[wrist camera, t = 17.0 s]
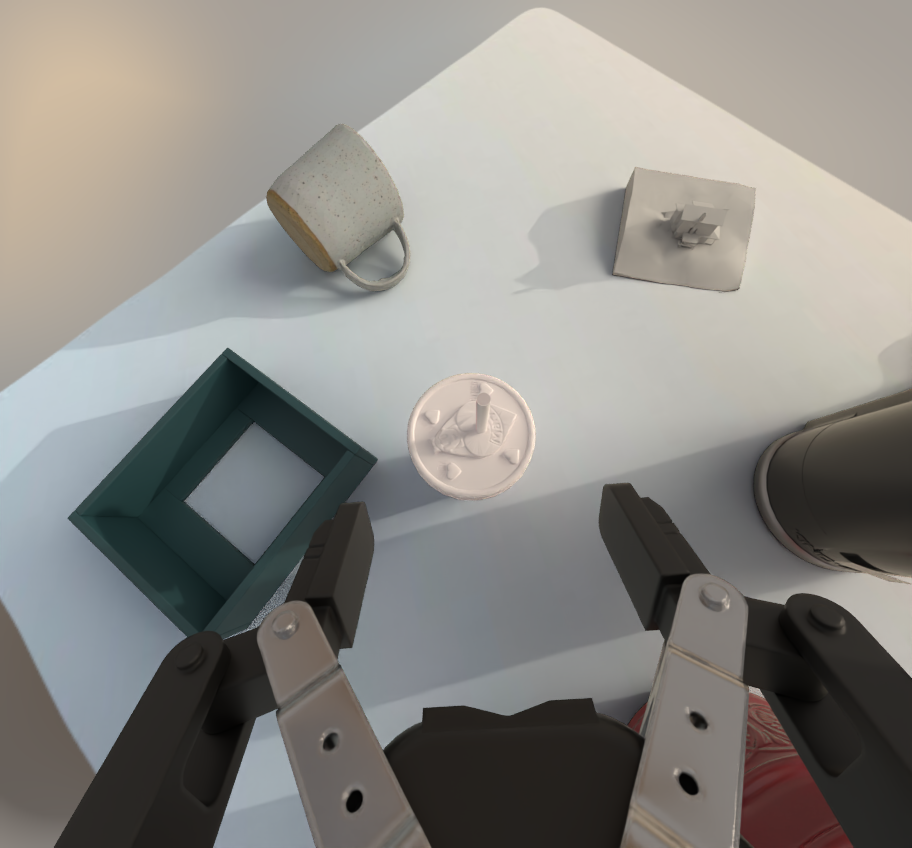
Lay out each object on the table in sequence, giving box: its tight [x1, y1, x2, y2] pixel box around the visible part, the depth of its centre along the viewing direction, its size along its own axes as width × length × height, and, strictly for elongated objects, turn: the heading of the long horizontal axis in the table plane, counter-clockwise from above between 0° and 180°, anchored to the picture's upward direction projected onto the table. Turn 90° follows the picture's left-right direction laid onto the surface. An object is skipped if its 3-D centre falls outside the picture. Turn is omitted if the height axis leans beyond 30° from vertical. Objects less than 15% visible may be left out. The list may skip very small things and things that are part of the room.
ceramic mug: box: [266, 124, 410, 291], centre depth 29 cm, size 11×8×8 cm
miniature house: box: [613, 167, 756, 293], centre depth 30 cm, size 12×11×4 cm
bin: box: [68, 348, 378, 639], centre depth 26 cm, size 14×12×4 cm
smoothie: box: [407, 373, 536, 500], centre depth 21 cm, size 6×6×14 cm
